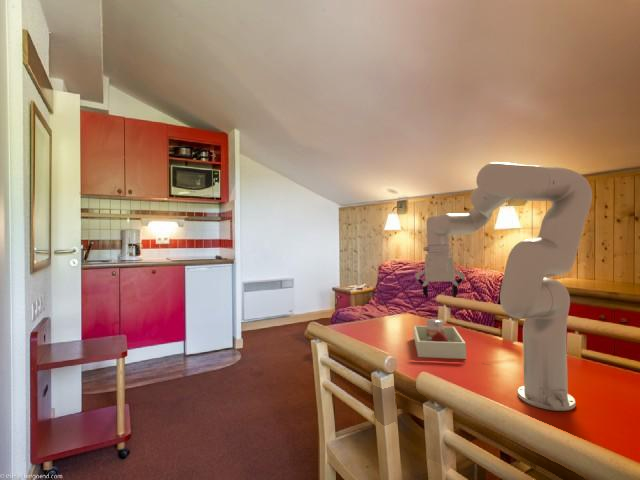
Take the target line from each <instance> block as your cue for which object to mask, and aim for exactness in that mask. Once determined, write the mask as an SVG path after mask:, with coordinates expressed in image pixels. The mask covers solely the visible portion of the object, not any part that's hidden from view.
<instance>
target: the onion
mask: <svg viewBox="0 0 640 480" xmlns="http://www.w3.org/2000/svg"><path fill="white" fill-rule="evenodd" d="M431 341H434V342H448V340H447V338H446V337H445V335H443V334H442V333H441V331H440V330H439V331H438V332H437V333H436V334H435V335H434V336H433V337H432V339H431Z"/></svg>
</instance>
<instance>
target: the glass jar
mask: <svg viewBox="0 0 640 480" xmlns="http://www.w3.org/2000/svg"><path fill="white" fill-rule="evenodd" d="M444 322H445V321H444V320H443V319H440V318H427V319H426V326H427V341H431V339H432V337H433V336H434V335H435V334H436V333H437V332H438V331H439V330H440V331H441V333H442V334H443V335H444V327H445V325H444Z"/></svg>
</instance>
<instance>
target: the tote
mask: <svg viewBox="0 0 640 480" xmlns="http://www.w3.org/2000/svg"><path fill="white" fill-rule="evenodd" d="M444 335H445V337H446V338H447V340H448V342H434V341H427V325H413V340H414V344H415V349H416V353H417V357H418V358H432V359H433V358H435V359H436V358H437V359H438V358H439V359H455V360H457V359H461V360H467V345H466V344H467V343H466V342H465V340H464V339H463V337H462V336H461V335H460V332H458V330H457V329H456V327H455V326H444Z"/></svg>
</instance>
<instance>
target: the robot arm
mask: <svg viewBox="0 0 640 480" xmlns="http://www.w3.org/2000/svg"><path fill="white" fill-rule="evenodd" d="M475 183H476V186H477V188H475V189H474V190H473V191H472V192H471V193H470V197H469V199H470V201H471V204H472V207H473V208H472V209H470V210H469V211H468V212H466V213H465V212H464V213H463V212H462V213H459V212H458V213H456V212H455V213H443V214H440V215H434V216H433V215H432V216H428V217H427V218H426V221H425V222H426V224H425V225H426V242H427V243H426V246H425V247H424V246H423V252H427V253H425V257H424V269H423V270H421V271H420V270H419V271H418V272H416V273H414V277H415V279H416V281H417V282H418V283H419V284H420V285H422V295H423V296H425V298H428V297H429V291H428V290H429V288H428V286H427V285H428V284H429V283H430V282H433V283H434V282H436V283H437V282H451V283H452V285H451V290H452V295H451V296H452V298H457V296H458V286H459V285H461V283H462V282H463V280H464V277H465V276H466V274H465V273H464V272H462V271H460V270H457V269H455V263H454V262H455V261H454V257H453V253H451V252H450V236H466V235H467V236H468V235H471V234H473V233H475V232H477V231H479V230H480V229H481V228H483V227H484V226H486V225H487V224H488V223H489V221H490V220H491V218H492V216H493V212H494V211H496V209H498V208H499V207H501V206H502V205H504V204H505V203H507V202H508V201H509V200H511V199H514V200H520V201H526V202H527V201H529V202H530V201H531V202H551V206H550V207H549V208H548V210H547V211H546V213H545V215H544V217H543V218H542V220H541V225H540V230H539V232H538V235H537V237H536V238H529V239H528V238H527V239H524V240H522V241H519V242H517V243H516V244H515V245H514V246H513V248H511V250H510V252H509V254H508V256H507V261H506V264H505V269H504V273H503V278H502V283H501V286H500V291H499V302H500V305H501V308H502V310H503V311H504V313H506V315H508V316H509V317H511V318H514V319H518V320H524V321H523V325H522V326H523V327H522V351H523V354H522V357H523V360H522V361H523V385H521V386H520V387H519V388H518V389H517V397H518V398H520V400H522V401H523V402H524V403H527V404H528V405H530V406H533V407H536V408H540V409H543V410H547V411H555V412H557V411H558V412H567V411H571V410H573V409H574V408H575V407H576V405H577V404H576V399H575V398H574V397H573V396H572V395H571V394H569V392H568V391H569V390H568V389H569V388H568V353H567V352H568V350H567V348H568V347H567V341H568V340H567V338H568V337H567V326H568V325H567V322H568V316H569V312H570V307H571V297H570V292H569V291H568V289H567V287H566V286H565V285H564V284H563V283H562V282H560V281H559V280H556V279H553V278H551V277H556V276H563V275H565V274H567V273H569V272H570V270H572V269H573V267H574V263H575V260H576V256H577V253H578V249H579V247H580V242H581V238H582V235H583V230H584V226H585V223H586V220H587V217H588V214H589V212H590V210H591V209H590V208H591V206H592V200H593V190H592V187H591V185H590V183H589V181H588V179H586V178H585V177H584V176H583V175H582V174H581V173H579V172H577V171H576V170H572V169H569V168H564V167H559V166H545V165H544V166H543V165H532V164H531V165H528V164H517V163H513V162H512V163H511V162H500V161H499V162H498V161H496V162H495V161H493V162H489V163H487V164H485V165H484V166H482V167H481V168H480V170H479V171H478V172H477V175H476V182H475ZM456 274H457V275H458V276H459V277H458V279H456V280H455V278H456ZM422 275H424V278H425V279H424V280H422V279H421V276H422ZM549 277H550V278H549Z"/></svg>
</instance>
